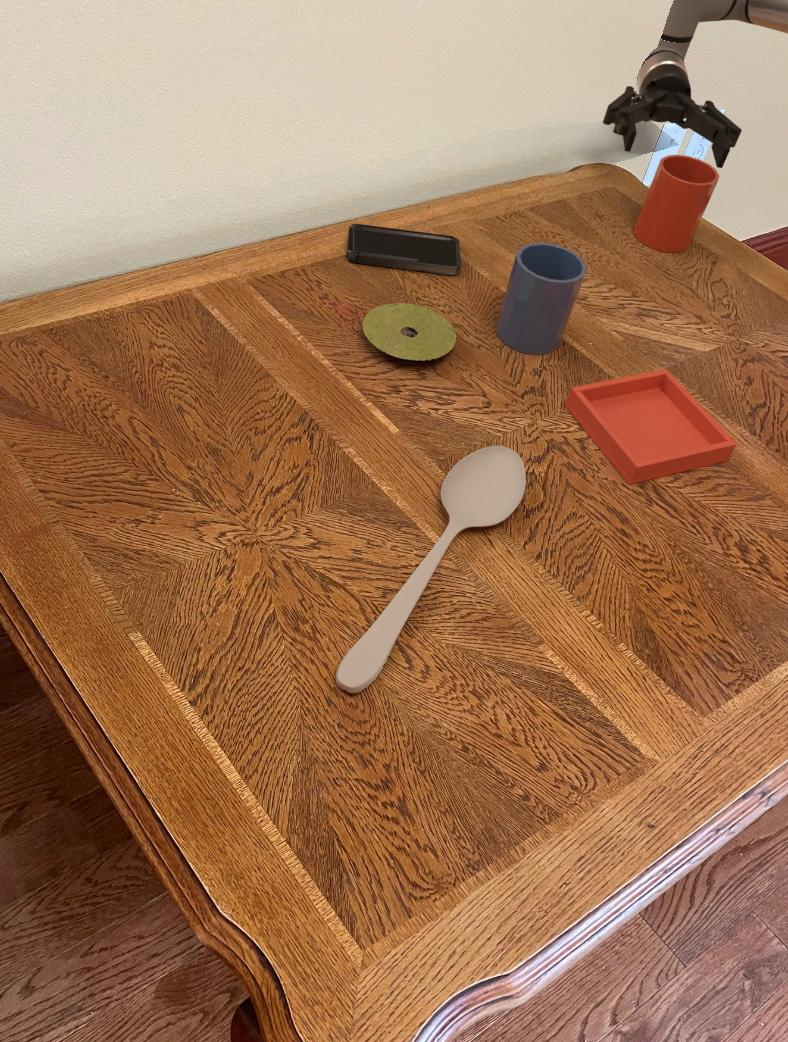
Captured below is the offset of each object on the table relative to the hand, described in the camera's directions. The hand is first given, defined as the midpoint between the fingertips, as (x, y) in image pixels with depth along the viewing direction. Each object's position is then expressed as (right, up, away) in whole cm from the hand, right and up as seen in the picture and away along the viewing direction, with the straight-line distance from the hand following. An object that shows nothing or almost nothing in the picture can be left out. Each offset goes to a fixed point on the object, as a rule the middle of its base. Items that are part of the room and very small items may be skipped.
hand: (677, 150), depth 135 cm
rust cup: (-2, -12, +1) cm, 12 cm away
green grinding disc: (-41, -34, -22) cm, 58 cm away
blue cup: (-25, -32, -18) cm, 45 cm away
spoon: (-40, -62, -45) cm, 86 cm away
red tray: (-14, -46, -28) cm, 55 cm away
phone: (-40, -19, -10) cm, 46 cm away
